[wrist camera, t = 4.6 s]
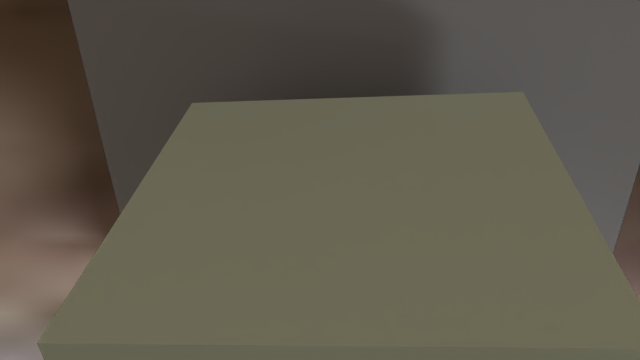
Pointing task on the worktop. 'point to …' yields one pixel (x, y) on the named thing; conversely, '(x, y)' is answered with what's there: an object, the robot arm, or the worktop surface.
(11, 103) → the worktop surface
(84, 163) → the worktop surface
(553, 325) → the sage block
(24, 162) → the worktop surface
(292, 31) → the charcoal plinth
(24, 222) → the worktop surface
